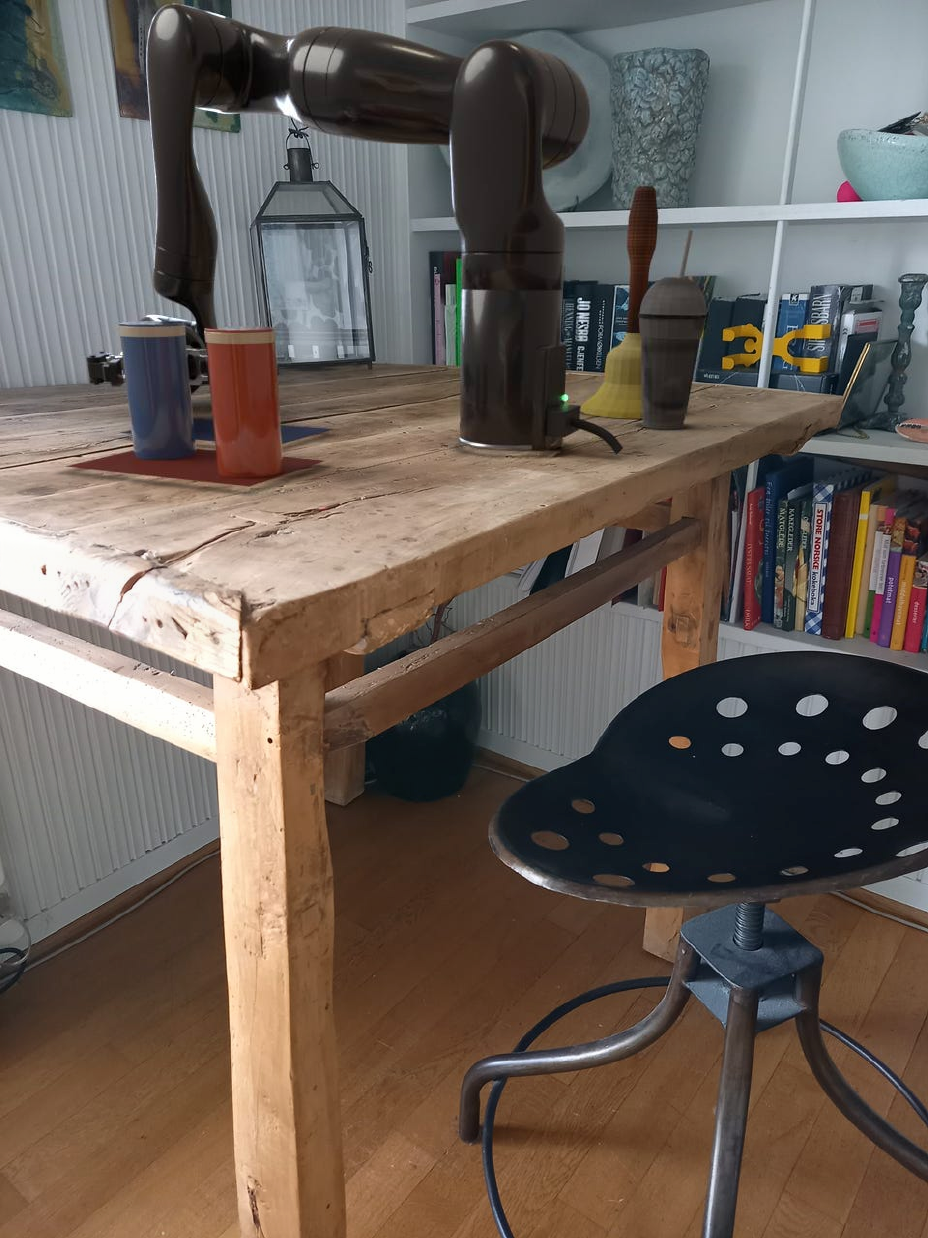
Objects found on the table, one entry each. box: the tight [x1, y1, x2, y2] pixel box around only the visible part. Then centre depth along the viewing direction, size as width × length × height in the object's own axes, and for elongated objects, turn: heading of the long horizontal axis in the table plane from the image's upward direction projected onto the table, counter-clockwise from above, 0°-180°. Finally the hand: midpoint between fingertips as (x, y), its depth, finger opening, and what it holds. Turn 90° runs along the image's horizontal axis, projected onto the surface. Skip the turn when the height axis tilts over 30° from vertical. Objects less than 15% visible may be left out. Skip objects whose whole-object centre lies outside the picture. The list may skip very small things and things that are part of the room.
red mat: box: [65, 448, 325, 487], centre depth 76 cm, size 18×11×1 cm, turn 67°
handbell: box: [580, 185, 659, 420], centre depth 106 cm, size 12×12×25 cm
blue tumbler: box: [117, 320, 197, 460], centre depth 77 cm, size 5×5×11 cm
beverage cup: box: [638, 229, 708, 430], centre depth 96 cm, size 7×7×20 cm
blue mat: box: [119, 417, 334, 445], centre depth 91 cm, size 18×11×1 cm, turn 67°
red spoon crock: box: [204, 325, 284, 478], centre depth 71 cm, size 5×5×11 cm
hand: (163, 373), depth 83 cm, fingers open, 8 cm apart
